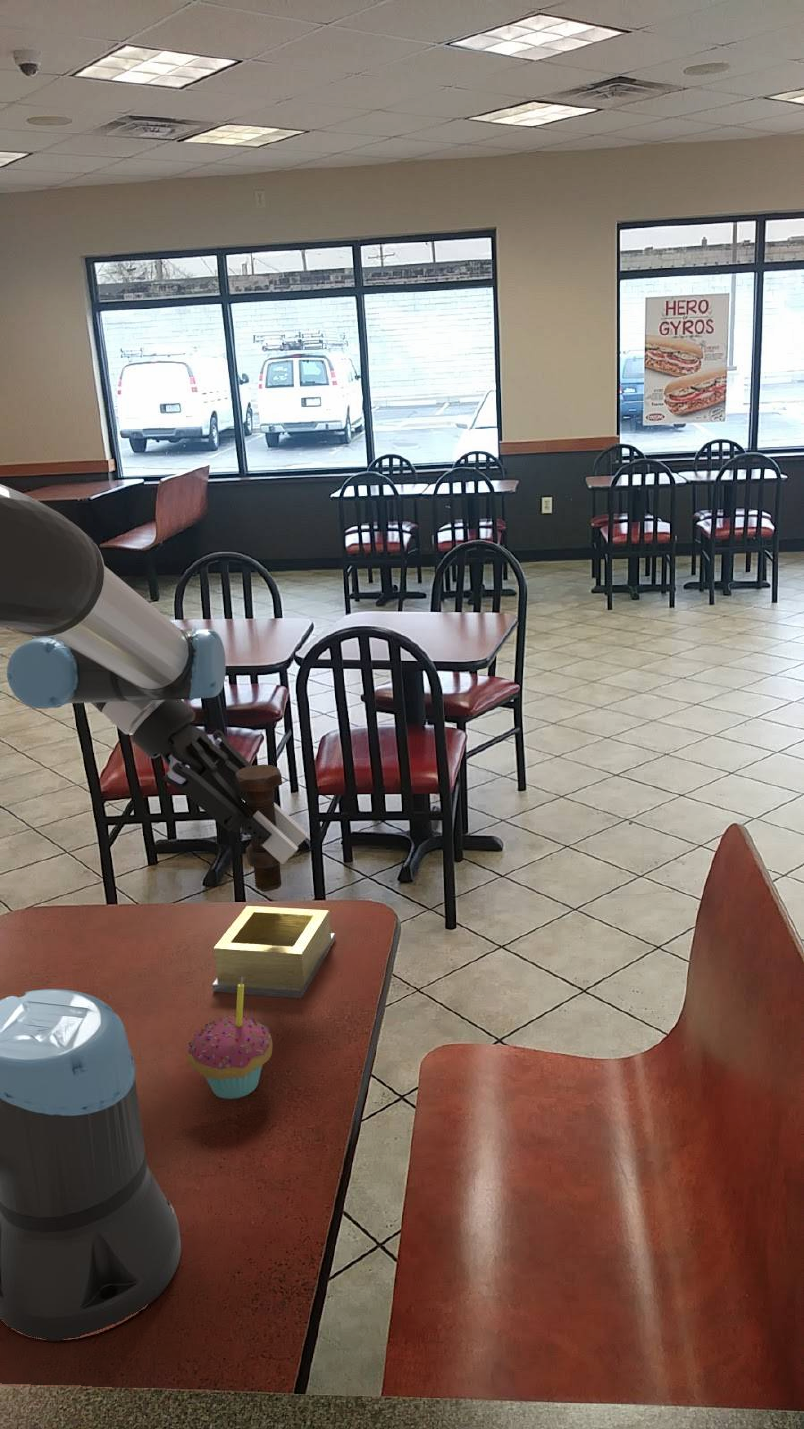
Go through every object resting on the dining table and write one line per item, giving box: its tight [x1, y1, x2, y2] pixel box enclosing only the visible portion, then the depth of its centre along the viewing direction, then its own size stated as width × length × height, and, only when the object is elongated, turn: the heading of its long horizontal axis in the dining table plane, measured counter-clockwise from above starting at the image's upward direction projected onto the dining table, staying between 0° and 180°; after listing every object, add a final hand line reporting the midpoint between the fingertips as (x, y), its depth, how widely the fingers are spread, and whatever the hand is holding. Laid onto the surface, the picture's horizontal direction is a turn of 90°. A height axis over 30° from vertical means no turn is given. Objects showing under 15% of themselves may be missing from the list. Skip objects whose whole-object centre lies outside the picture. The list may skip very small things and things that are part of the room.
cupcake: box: [187, 977, 273, 1100], centre depth 112 cm, size 9×8×12 cm
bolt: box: [235, 764, 283, 893], centre depth 132 cm, size 6×5×15 cm
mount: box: [212, 905, 336, 1000], centre depth 136 cm, size 14×11×5 cm
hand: (295, 849), depth 132 cm, fingers closed on bolt, 3 cm apart
